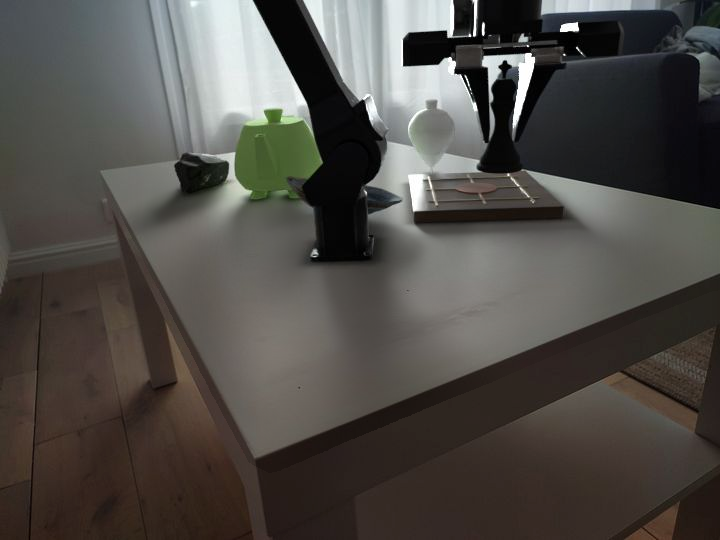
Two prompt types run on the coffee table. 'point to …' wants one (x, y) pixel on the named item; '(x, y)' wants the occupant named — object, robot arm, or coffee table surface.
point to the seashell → (375, 196)
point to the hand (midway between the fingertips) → (500, 142)
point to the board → (480, 197)
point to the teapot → (275, 153)
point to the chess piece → (501, 129)
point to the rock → (200, 171)
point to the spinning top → (431, 133)
